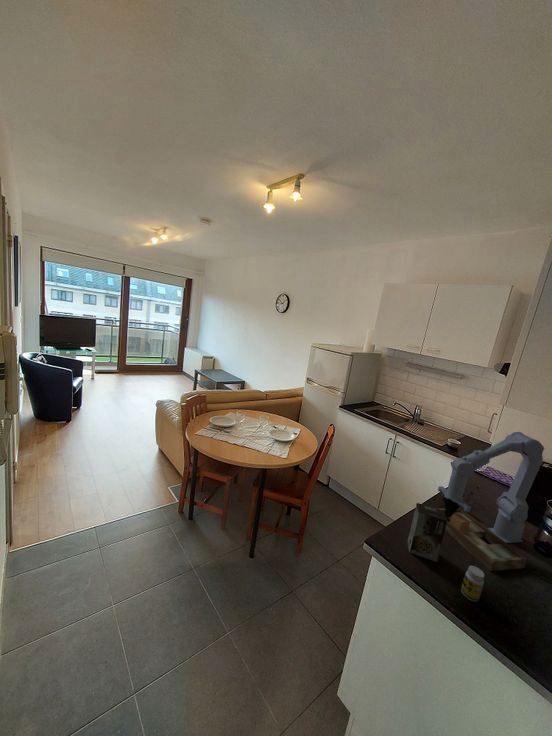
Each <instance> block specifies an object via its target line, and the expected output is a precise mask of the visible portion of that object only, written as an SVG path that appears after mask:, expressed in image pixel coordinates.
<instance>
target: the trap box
mask: <svg viewBox="0 0 552 736" xmlns="http://www.w3.org/2000/svg"><path fill="white" fill-rule="evenodd" d="M437 509H440V510H443V511H444V514H445V516H446V510H445V508H444V507H443V508H437ZM457 514H461V515H462V516H463V517H465V518H466V519H467V520H469V521H470V525H469V529H468V531H459V530H458V529H457V528H455V527H454V526H453V525H452V524H451V523H450V521H451V517H447V516H446V519H447V524H446V528H445V532H446V533H448V534H449V536H451V537H452V538H453V539H454V540H455V541H457V543H458V544H459V545H461V547H463V548H464V549H465V550H466V551H467V552H468V553H469V554H470V555H472V556H473V557H474V559H476V560H477V561H478V562H479V563H481V565H483V566H484V567H485V568H486V569H487V570H488V571H489V572H493V571H494V572H495V571H496V572H497V571H507V570H517V569H524V568H525V566H526V563H527V561H528V558H527V557H526V556H524V554H521V553H520V552H519V551H517V550H516V549H514V548H513V546H511V545H510V544H509V543H506V542H504V541H503V540H502V539H500V538H499V537H498V536H496V535H495V534H494V533H492V532H491V531H490V530H488V528H487V527H486V526H485V525H483V524H482V523H481V522H479V521H478V520H477V519H475V518H474V517H473V516H472V515H470V514H469V513H468V512H466V511H464V509H463V508H462V507H461V508H459V509H457V510H456V511H455V513H454V514H453V515H457ZM448 520H449V521H448ZM481 538H484V539H485V540H486V541H488V542H489V544H488V543H486V542H485V541H484V540H483V539H481Z"/></svg>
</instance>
